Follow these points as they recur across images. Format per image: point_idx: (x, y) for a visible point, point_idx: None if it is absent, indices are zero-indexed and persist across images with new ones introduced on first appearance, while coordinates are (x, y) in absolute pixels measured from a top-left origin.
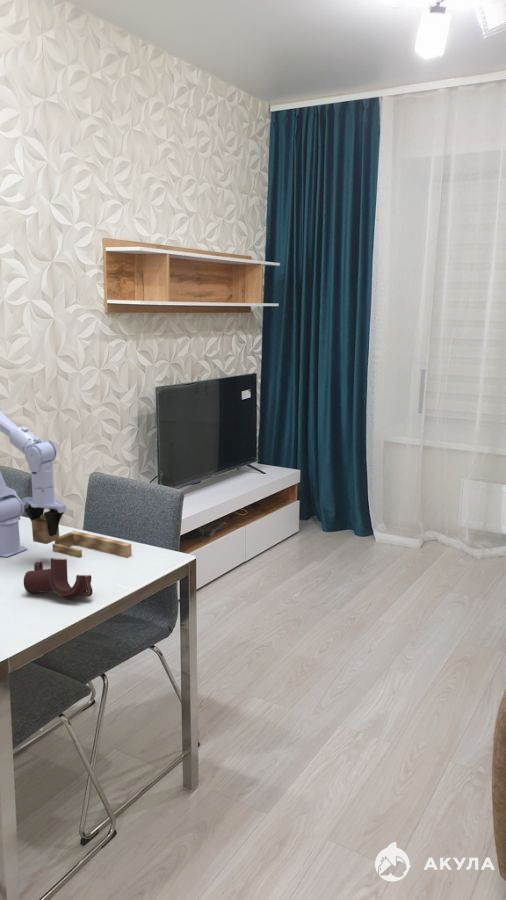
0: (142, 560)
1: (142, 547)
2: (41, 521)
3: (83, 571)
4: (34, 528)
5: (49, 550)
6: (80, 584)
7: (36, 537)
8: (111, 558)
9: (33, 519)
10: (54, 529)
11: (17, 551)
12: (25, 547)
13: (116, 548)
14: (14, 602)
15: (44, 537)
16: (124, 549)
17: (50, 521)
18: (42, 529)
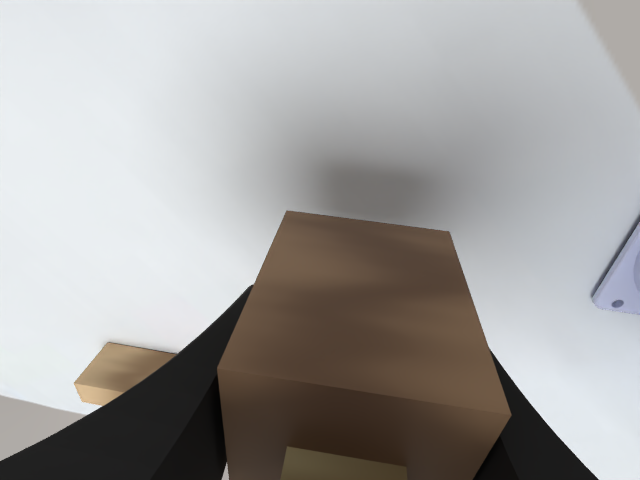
0: (45, 336)
1: None
2: (320, 409)
3: (107, 167)
4: (436, 316)
5: None
6: None
7: (403, 248)
8: (145, 322)
9: (500, 445)
10: None
11: (633, 247)
12: (607, 306)
13: (141, 373)
14: None
15: (289, 244)
16: (98, 369)
17: (111, 402)
18: (293, 302)
